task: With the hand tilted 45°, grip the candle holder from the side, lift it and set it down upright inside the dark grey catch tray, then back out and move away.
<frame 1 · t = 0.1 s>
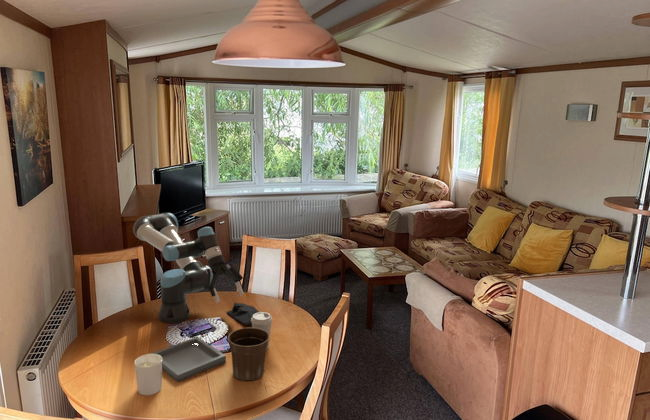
hand: (230, 298, 228), 15 cm above the table, tool tilted 35°, fingers open, 13 cm apart
coffee cup: (261, 347, 215), on the table
catch tray: (188, 361, 201), on the table
candle holder: (149, 389, 180), on the table
plant pot: (248, 373, 194), on the table
dark grey crumpled cloth: (247, 318, 244), on the table
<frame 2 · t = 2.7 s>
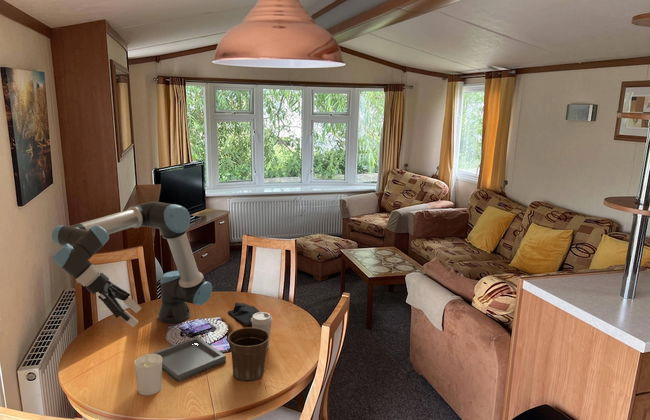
hand: (137, 317, 179), 27 cm above the table, tool tilted 40°, fingers open, 13 cm apart
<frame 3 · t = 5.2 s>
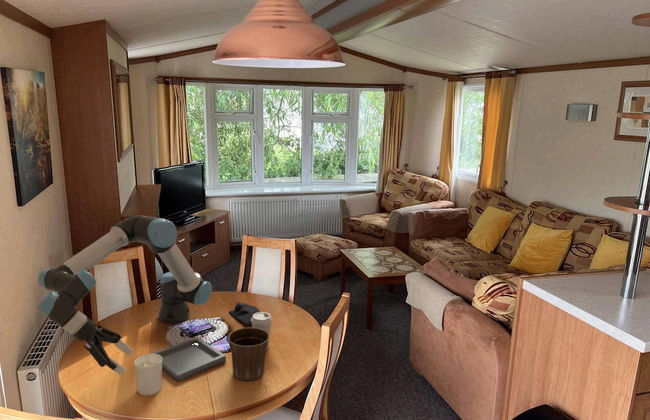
hand: (127, 362, 176), 12 cm above the table, tool tilted 45°, fingers open, 13 cm apart
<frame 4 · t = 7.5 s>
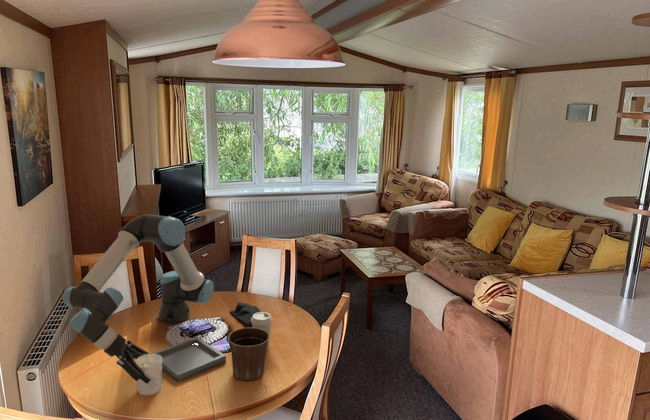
hand: (158, 378, 180), 4 cm above the table, tool tilted 45°, fingers closed on candle holder, 9 cm apart
candle holder: (149, 389, 180), on the table, touching gripper
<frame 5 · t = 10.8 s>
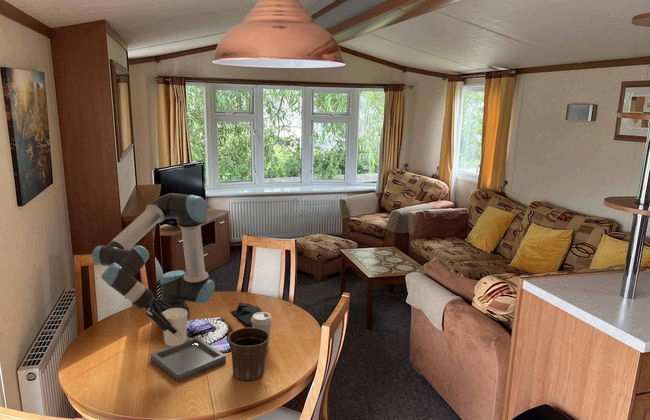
hand: (183, 330, 191), 17 cm above the table, tool tilted 45°, fingers closed on candle holder, 9 cm apart
candle holder: (175, 341, 191), point 13 cm above the table, touching gripper
when the fingers open (7 cm above the table, at t = 13.7 s): candle holder stays where it is, point 2 cm above the table.
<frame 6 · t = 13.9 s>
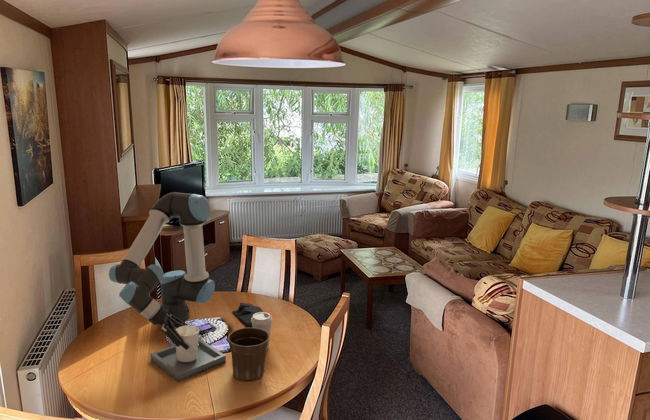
hand: (195, 345, 200), 7 cm above the table, tool tilted 45°, fingers open, 10 cm apart
candle holder: (187, 357, 199), point 2 cm above the table, touching gripper
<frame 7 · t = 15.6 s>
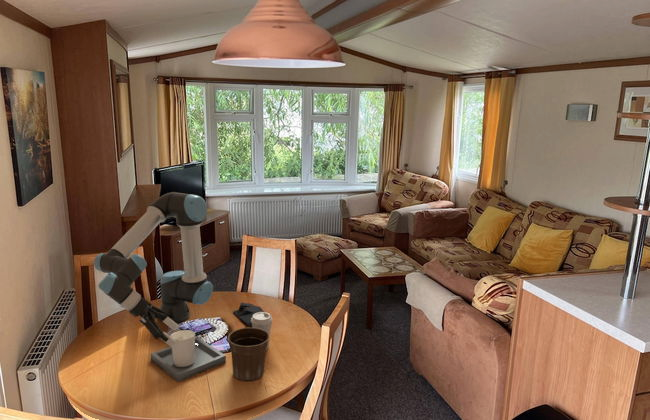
hand: (175, 336, 197), 12 cm above the table, tool tilted 45°, fingers open, 13 cm apart
candle holder: (184, 362, 197), point 1 cm above the table, touching catch tray
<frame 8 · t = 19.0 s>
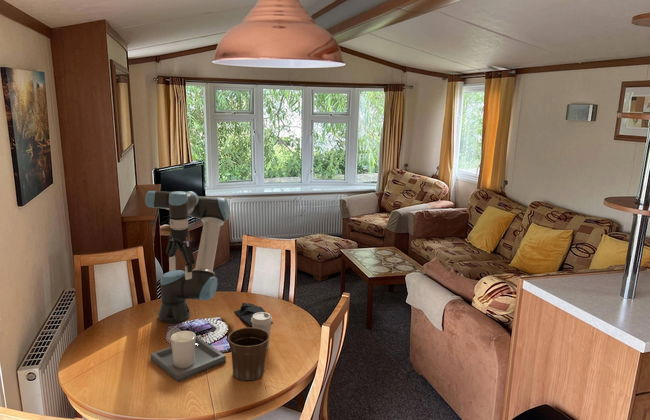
hand: (180, 274, 210), 32 cm above the table, tool pointing down, fingers open, 13 cm apart
at the end: candle holder inside the target area on the catch tray (3.4 cm from its centre), point 0.8 cm above the catch tray's base; candle holder tilted 0°; the gripper is holding nothing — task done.
